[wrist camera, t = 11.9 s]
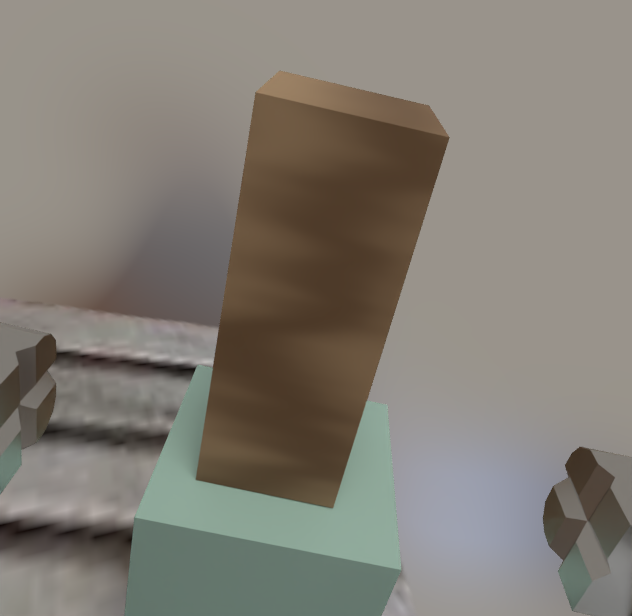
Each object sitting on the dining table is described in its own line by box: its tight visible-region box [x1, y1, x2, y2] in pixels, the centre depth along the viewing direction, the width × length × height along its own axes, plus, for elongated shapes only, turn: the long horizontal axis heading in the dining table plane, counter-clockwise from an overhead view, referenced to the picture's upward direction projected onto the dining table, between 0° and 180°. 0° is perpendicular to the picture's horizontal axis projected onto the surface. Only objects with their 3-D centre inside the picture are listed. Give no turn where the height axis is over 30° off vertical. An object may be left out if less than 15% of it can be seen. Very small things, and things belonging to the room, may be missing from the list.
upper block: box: [124, 365, 401, 616], centre depth 22 cm, size 8×8×5 cm
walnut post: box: [196, 71, 449, 508], centre depth 18 cm, size 4×4×12 cm
